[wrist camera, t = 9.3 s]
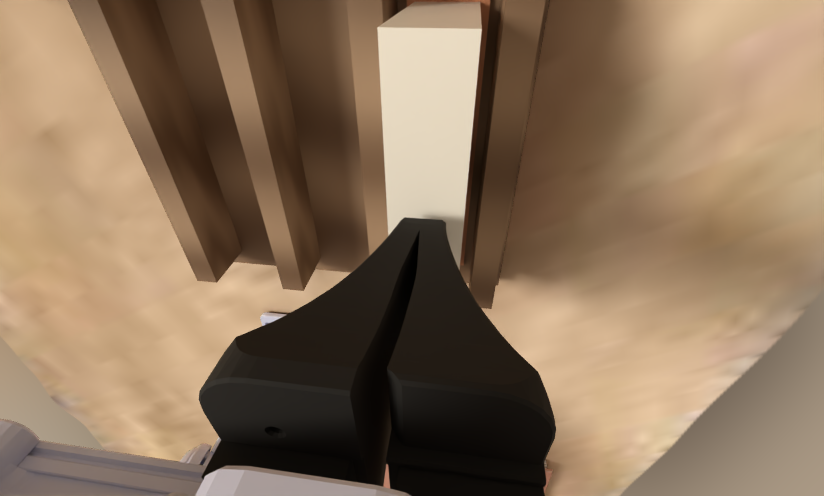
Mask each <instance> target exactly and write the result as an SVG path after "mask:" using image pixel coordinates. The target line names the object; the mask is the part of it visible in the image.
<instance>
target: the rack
mask: <svg viewBox="0 0 824 496" xmlns="http://www.w3.org/2000/svg"><path fill="white" fill-rule="evenodd" d="M549 1H550V0H68V2H69V4H70V7H71V9H72V11H73V13H74V15H75V17H76V19H77V22H78V24H79V26H80V28H81V30H82V32H83V35H84V37H85V39H86V41H87V43H88V45H89V48H90V50H91V52H92V54H93V56H94V58H95V60H96V63H97V65H98V67H99V69H100V71H101V73H102V76H103V78H104V80H105V82H106V84H107V86H108V89H109V91H110V93H111V95H112V97H113V99H114V101H115V104H116V106H117V108H118V110H119V112H120V114H121V117H122V119H123V121H124V123H125V125H126V127H127V130H128V132H129V134H130V136H131V138H132V140H133V142H134V145H135V147H136V149H137V151H138V153H139V155H140V158H141V160H142V162H143V164H144V166H145V168H146V171H147V173H148V175H149V177H150V179H151V181H152V183H153V186H154V188H155V190H156V192H157V194H158V196H159V199H160V201H161V203H162V205H163V207H164V209H165V212H166V214H167V216H168V218H169V220H170V222H171V224H172V227H173V229H174V231H175V233H176V235H177V237H178V240H179V242H180V244H181V246H182V248H183V250H184V253H185V255H186V257H187V259H188V261H189V263H190V265H191V268H192V270H193V272H194V274H195V276H196V278H197V281H207V282H218V280H219V279H220V278H221V277H222V276H223V274H224V273H225V272H226V271H227V269H228V268H229V267H230V266H231V264H232V263H233V262H241V263H252V264H263V265H274V266H277V269H278V273H279V276H280V280H281V283H282V287H283V289H290V290H300V291H304V289H305V287H306V285H307V283H308V281H309V279H310V277H311V275H312V274H313V272H314V270H315V269H319V270H330V271H342V272H353V271H354V270H355V269H356V268H357V267H358V266H360V265H361V264H362V263H363V262H364V261H365V260H366V259H367V258H368V257H369V256H370V255H371V254H372V253H373V252H374V251H375V250H376V249H377V248H378V247H379V246H380V245H381V244H382V242H383V241H384V240H385V239H386V238H387V237H388V220H387V201H386V182H385V163H384V144H383V125H382V106H381V87H380V68H379V49H378V30H377V27H379V26H380V25H382V24H383V23H384V22H386V21H387V20H389V19H390V18H392V17H393V16H395V15H396V14H398V13H399V12H400V11H402V10H403V9H405V8H406V7H408V6H409V5H411V4H412V3H414V2H480V7H481V24H482V32H481V43H480V53H479V64H478V75H477V86H476V97H475V108H474V118H473V129H472V140H471V151H470V162H469V173H468V183H467V194H466V205H465V216H464V227H463V237H462V248H461V259H460V270H459V271H460V273H461V275H462V277H463V279H464V281H465V283H469V290H470V292H471V294H472V295H473V297H474V298H475V300H476V302H477V303H478V305H479V306H480V308H488V309H492V303H493V297H494V292H495V286H496V285H498V283H499V277H500V272H501V266H502V261H503V255H504V250H505V244H506V239H507V233H508V228H509V222H510V217H511V211H512V206H513V200H514V195H515V189H516V184H517V178H518V172H519V167H520V161H521V156H522V150H523V145H524V139H525V134H526V128H527V123H528V117H529V112H530V106H531V101H532V95H533V90H534V84H535V79H536V73H537V68H538V62H539V57H540V51H541V46H542V40H543V34H544V29H545V23H546V18H547V12H548V7H549Z"/></svg>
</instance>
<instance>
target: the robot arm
mask: <svg viewBox="0 0 824 496" xmlns="http://www.w3.org/2000/svg"><path fill="white" fill-rule="evenodd" d="M260 319H261V322H262V325H263V326H262V327H259V328H257V329H255V330H252V331H250V332H248V333H245V334H243V335H240V336H238V337H236V338H235V339H234V341H233V342H232V343H231V345H230V346H229V347H228V348H227V350H226V351H225V352H224V354H223V355H222V357H221V358H220V360H219V362H218V363H217V365H216V366H215V368H214V369H213V371H212V373H211V374H210V376H209V377H208V379H207V380H206V382H205V384H204V385H203V387H202V388H201V390H200V393H199V401H200V404H201V407H202V409H203V411H204V413H205V415H206V416H207V418H208V420H209V421H210V423H211V425H212V426H213V428H214V429H215V431H216V433H217V434H218V436H219V437H218V439H217V441H216V443H215V445H214V447H213V448H212V450H211V447H212V446H211V445H208V444H206V443H202V444H200V445H199V446H198V447H195V448H193V449H191V450H189V451H188V452H187V453H186V454H185V455H184V456H183V458H182V459H181V460H180V462H178V461H172V460H165V459H158V458H152V457H145V456H139V455H132V454H126V453H119V452H113V451H106V450H99V449H93V448H86V447H80V446H73V445H67V444H60V443H53V442H47V441H40V440H39V438H38V436H37V435H36V434H35V433H34V432H32V431H31V430H30V429H29V428H27V427H25V426H24V425H22V424H19V423H17V422H14V421H10V420H4V419H0V496H545V495H544V487H545V485H546V474H545V466H544V461H545V459H546V456H547V454H548V452H549V450H550V447H551V445H552V443H553V441H554V439H555V433H556V426H555V420H554V415H553V411H552V408H551V405H550V402H549V398H548V396H547V393H546V390H545V387H544V385H543V383H542V380H541V378H540V375H539V373H538V372H537V371H536V370H535V369H534V368H533V367H532V366H531V365H530V364H529V363H528V362H527V361H526V360H525V359H524V358H523V357H522V356H521V355H520V354H519V353H518V352H517V351H516V350H515V349H514V348H513V347H512V346H511V345H510V344H509V343H508V342H507V341H506V340H505V338H504V337H503V336H502V335H501V334H500V333H499V331H498V330H497V329H496V327H495V326H494V325H493V324H492V322H491V321H490V320H489V319H488V317H487V316H486V315H485V313H484V312H483V311H482V309H481V308H480V306H479V305H478V303H477V302H476V300H475V298H474V297H473V295H472V294H471V292H470V290H469V288H468V287H467V285H466V283H465V281H464V279H463V277H462V275H461V273H460V271H459V268H458V266H457V264H456V261H455V259H454V256H453V253H452V251H451V248H450V245H449V241H448V237H447V232H446V223H445V222H444V221H443V220H435V219H421V218H407V217H404V218H403V219H402V220H401V221H400V222H399V223H398V225H397V226H396V227H395V228H394V230H393V231H392V232H391V233H390V234H389V236H388V237H387V238H386V239H385V240H384V241H383V242H382V244H381V245H380V246H379V247H378V248H377V249H376V250H375V251H374V252H373V253H372V254H371V255H370V256H369V257H368V258H367V259H366V260H365V261H364V262H363V263H362V264H361V265H360V266H358V267H357V268H356V269H355V270H354V271H353V272H352V273H350V274H349V275H348V276H347V277H346V278H344V279H343V280H342V281H341V282H339V283H338V284H337V285H335V286H334V287H333V288H331V289H330V290H328V291H327V292H325V293H323V294H322V295H320V296H319V297H317V298H316V299H314V300H313V301H311V302H309V303H308V304H306V305H304V306H302V307H300V308H299V309H297V310H295V311H293V312H291V313H289V314H277V313H268V312H266V313H263V314H262V316H261V317H260ZM210 450H211V452H210ZM386 464H388V470H389V481H390V488H386V487H383V486H384V478H385V471H386Z"/></svg>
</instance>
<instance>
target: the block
mask: <svg viewBox="0 0 824 496" xmlns="http://www.w3.org/2000/svg"><path fill="white" fill-rule="evenodd" d="M377 30H378V49H379V68H380V87H381V106H382V125H383V144H384V163H385V182H386V201H387V220H388V236H389V234H390V233H391V232H392V231H393V230H394V228H395V227H396V226H397V225H398V223H399V222H400V221H401V220H402V219H403V218H404V217H407V218H421V219H435V220H443V221H444V222H445V223H446V232H447V237H448V241H449V245H450V248H451V251H452V253H453V256H454V259H455V261H456V264H457V266H458V268H459V270H460V259H461V248H462V237H463V227H464V216H465V205H466V194H467V183H468V173H469V162H470V151H471V140H472V129H473V118H474V108H475V97H476V86H477V75H478V64H479V53H480V43H481V32H482V24H481V7H480V2H414V3H412V4H411V5H409V6H408V7H406V8H405V9H403V10H402V11H400V12H399V13H398V14H396V15H395V16H393V17H392V18H390V19H389V20H387V21H386V22H384V23H383V24H382V25H380V26H379V27H377Z"/></svg>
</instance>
